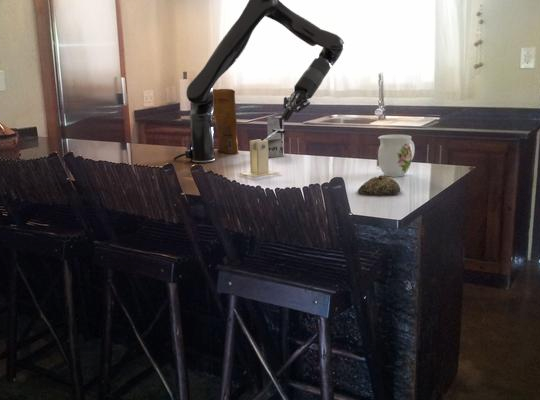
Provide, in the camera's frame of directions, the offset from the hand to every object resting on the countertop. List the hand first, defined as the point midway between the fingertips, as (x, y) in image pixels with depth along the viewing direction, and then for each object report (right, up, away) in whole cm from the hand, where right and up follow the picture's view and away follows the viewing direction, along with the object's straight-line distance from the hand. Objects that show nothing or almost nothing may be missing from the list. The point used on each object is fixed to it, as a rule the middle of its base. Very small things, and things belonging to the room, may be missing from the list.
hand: (283, 119), depth 231 cm
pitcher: (+37, -20, -11) cm, 44 cm away
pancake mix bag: (-17, -8, +53) cm, 56 cm away
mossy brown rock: (+24, -27, -34) cm, 50 cm away
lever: (-6, -8, -2) cm, 10 cm away
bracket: (-9, -20, -1) cm, 22 cm away
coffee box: (+3, -10, +38) cm, 39 cm away
